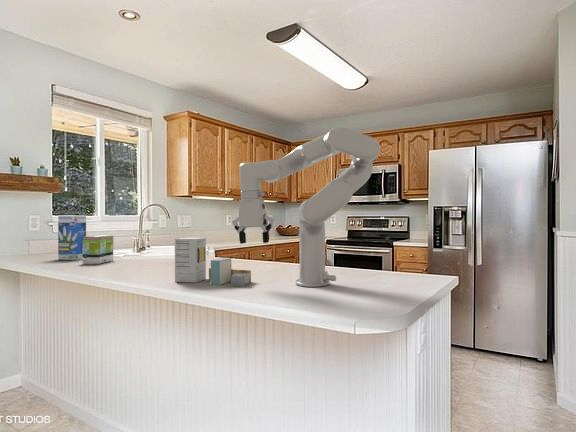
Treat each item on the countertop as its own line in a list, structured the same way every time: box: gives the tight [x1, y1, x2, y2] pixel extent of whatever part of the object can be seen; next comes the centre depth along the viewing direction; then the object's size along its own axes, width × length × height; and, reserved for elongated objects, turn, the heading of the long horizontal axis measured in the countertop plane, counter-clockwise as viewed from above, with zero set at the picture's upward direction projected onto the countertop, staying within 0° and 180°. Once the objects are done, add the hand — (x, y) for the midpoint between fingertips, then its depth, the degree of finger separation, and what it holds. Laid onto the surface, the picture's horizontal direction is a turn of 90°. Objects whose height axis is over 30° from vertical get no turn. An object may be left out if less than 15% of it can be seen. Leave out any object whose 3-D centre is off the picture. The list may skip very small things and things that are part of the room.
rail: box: [208, 267, 252, 284], centre depth 150 cm, size 18×1×4 cm, turn 67°
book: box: [210, 257, 232, 286], centre depth 146 cm, size 4×8×9 cm, turn 156°
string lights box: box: [57, 214, 87, 261], centre depth 225 cm, size 13×8×26 cm, turn 80°
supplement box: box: [174, 237, 207, 284], centre depth 151 cm, size 10×9×17 cm
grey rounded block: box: [230, 273, 250, 288], centre depth 142 cm, size 5×8×4 cm, turn 173°
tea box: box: [81, 234, 114, 265], centre depth 210 cm, size 15×10×15 cm
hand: (254, 242), depth 140 cm, fingers open, 9 cm apart
